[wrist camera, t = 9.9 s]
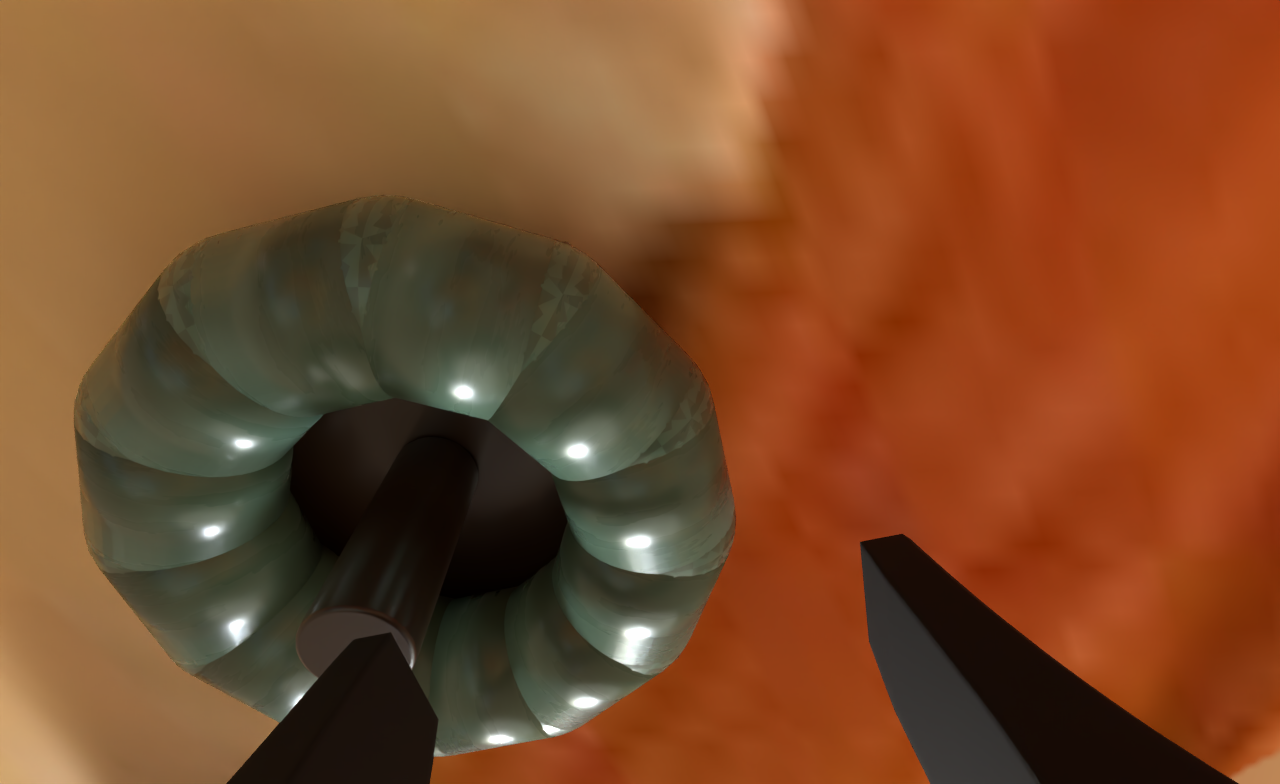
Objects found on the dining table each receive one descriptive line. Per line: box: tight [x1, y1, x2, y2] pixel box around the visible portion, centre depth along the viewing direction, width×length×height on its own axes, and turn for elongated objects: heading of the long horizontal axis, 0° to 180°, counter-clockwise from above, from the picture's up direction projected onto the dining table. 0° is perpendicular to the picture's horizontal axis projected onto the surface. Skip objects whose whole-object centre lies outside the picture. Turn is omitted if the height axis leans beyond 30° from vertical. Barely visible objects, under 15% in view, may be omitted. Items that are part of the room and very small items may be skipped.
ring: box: [74, 195, 736, 757], centre depth 14 cm, size 13×13×4 cm
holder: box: [290, 242, 571, 678], centre depth 14 cm, size 9×9×6 cm
